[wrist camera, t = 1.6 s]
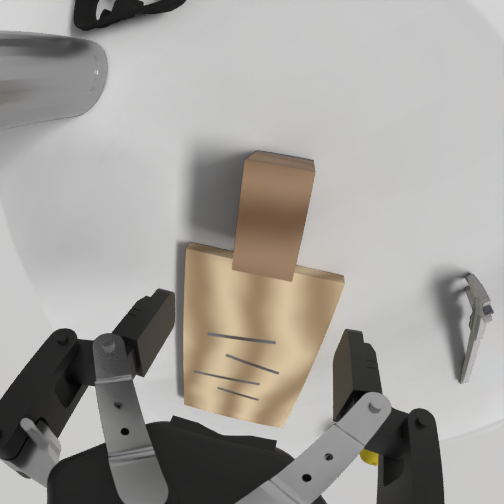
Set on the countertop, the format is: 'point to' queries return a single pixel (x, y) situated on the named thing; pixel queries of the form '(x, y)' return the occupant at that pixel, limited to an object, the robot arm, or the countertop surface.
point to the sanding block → (272, 214)
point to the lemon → (369, 457)
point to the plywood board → (251, 335)
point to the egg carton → (117, 11)
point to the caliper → (475, 322)
